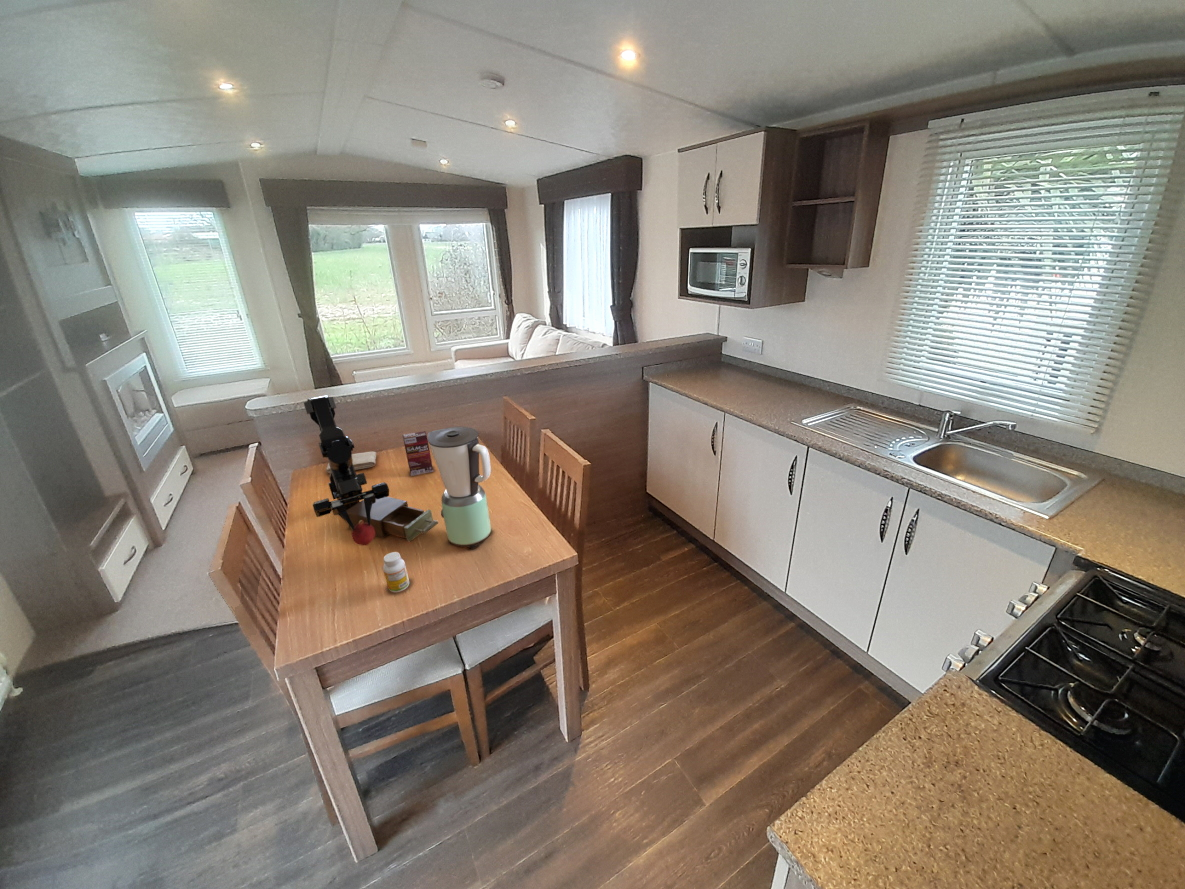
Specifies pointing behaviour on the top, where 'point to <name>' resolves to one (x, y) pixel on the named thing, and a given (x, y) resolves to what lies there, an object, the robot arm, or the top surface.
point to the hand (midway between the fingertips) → (361, 527)
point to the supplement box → (418, 453)
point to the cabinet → (376, 513)
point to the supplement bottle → (395, 572)
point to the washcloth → (361, 460)
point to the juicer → (462, 484)
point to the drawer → (408, 522)
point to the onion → (363, 533)
